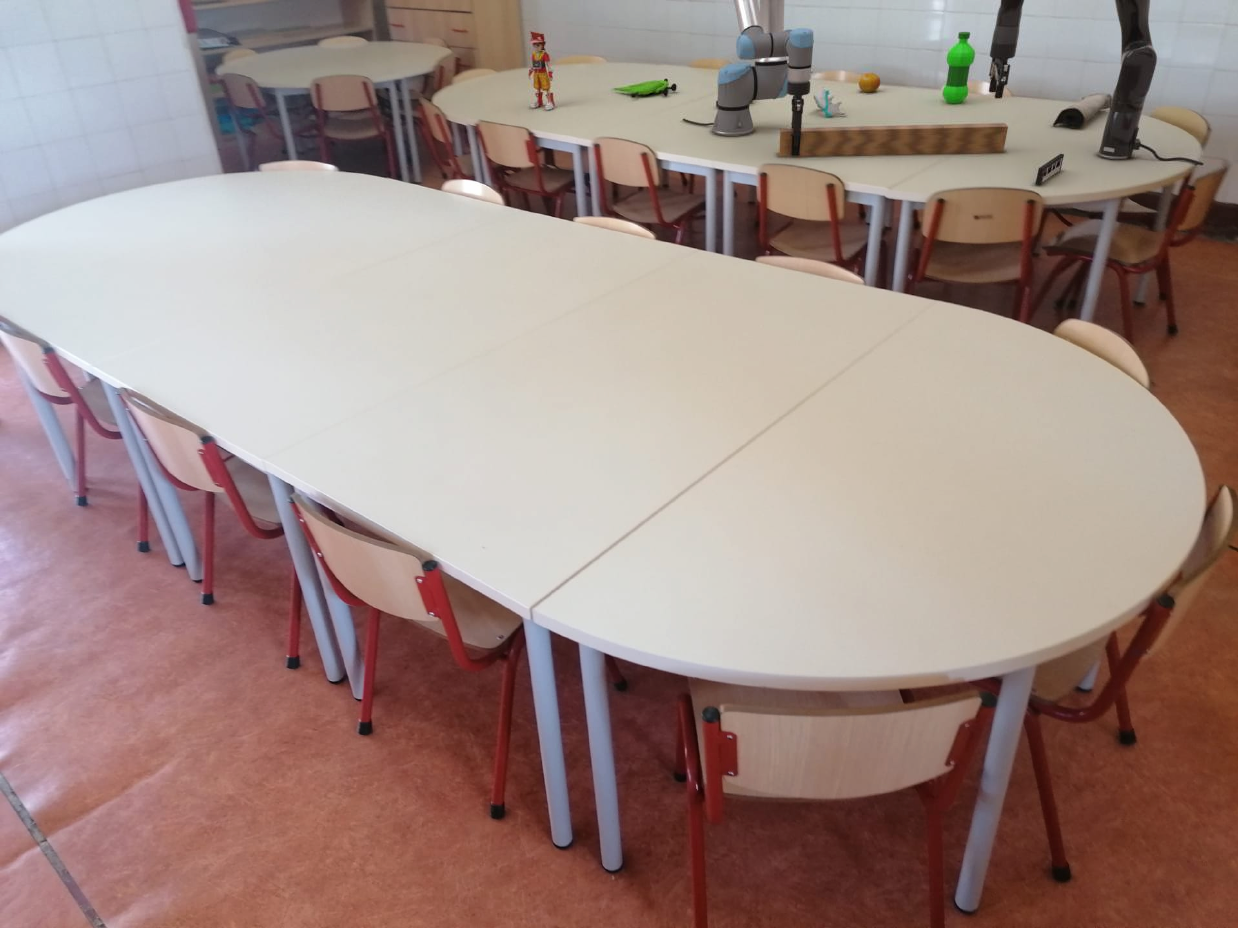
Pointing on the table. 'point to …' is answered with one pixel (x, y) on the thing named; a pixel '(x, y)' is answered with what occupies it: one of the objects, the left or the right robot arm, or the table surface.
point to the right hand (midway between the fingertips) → (995, 95)
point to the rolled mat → (1083, 110)
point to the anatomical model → (827, 103)
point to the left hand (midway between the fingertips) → (794, 152)
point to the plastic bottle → (958, 69)
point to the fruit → (869, 82)
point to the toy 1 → (541, 71)
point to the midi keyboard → (1049, 169)
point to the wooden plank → (896, 140)
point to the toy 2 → (648, 88)
